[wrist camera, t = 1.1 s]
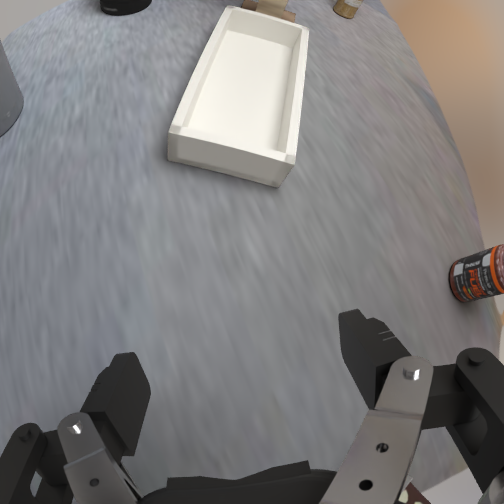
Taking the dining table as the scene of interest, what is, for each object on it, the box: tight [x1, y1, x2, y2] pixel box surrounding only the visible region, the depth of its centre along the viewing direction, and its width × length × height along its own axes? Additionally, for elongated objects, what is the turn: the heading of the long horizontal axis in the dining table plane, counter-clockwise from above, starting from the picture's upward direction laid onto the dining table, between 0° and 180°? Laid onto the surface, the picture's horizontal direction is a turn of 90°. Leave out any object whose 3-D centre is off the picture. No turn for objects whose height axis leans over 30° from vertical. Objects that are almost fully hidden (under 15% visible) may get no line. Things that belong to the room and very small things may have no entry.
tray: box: [168, 5, 309, 188], centre depth 34 cm, size 25×12×5 cm, turn 170°
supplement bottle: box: [450, 244, 504, 302], centre depth 32 cm, size 6×6×11 cm
